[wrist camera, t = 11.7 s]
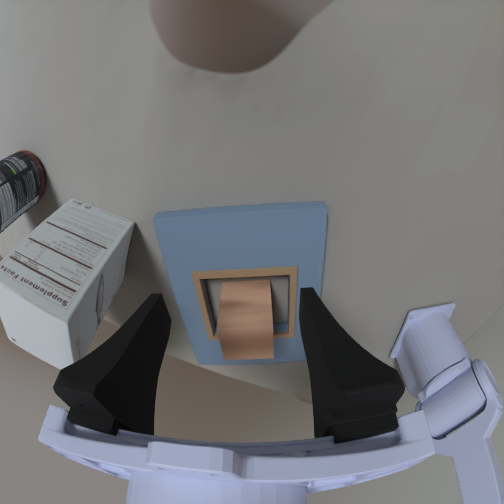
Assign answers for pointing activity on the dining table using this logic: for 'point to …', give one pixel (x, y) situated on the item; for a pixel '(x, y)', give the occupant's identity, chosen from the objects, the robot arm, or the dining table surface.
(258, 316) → the block
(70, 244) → the supplement box
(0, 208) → the supplement bottle
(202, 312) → the blue board with hole
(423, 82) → the dining table surface
